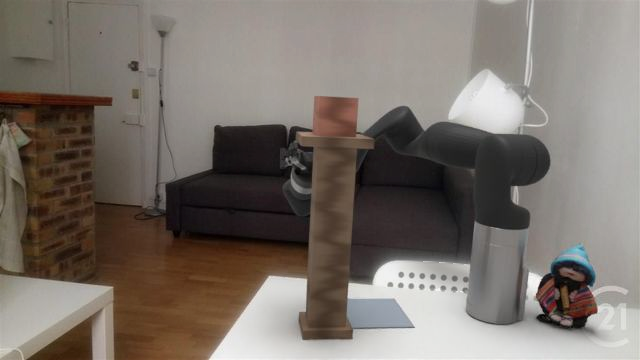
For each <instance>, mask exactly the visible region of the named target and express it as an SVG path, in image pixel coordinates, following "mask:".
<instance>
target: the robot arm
mask: <svg viewBox="0 0 640 360" xmlns="http://www.w3.org/2000/svg"><path fill="white" fill-rule="evenodd" d="M361 135H364V136H367V137H370V138H373V139H375V140H374V143H375V142H376V141H377V140H378V139H380V138H381V137H382V136H383V137H384V138H385V140H386V141H387V143H388V144H389V146H390V147H391V148H392V150H394V152H395V153H397V154H400V155H404V156H411V157H412V156H413V157H419V158H423V159H425V160H429V161H433V162H435V163H438V164H441V165H444V166H447V167H450V168H451V167H452V168H457V169H465V170H468V169H469V170H474V179H473V181H474V182H473V183H474V184H473V197H472V198H473V206H474V212H475V216H474V226H473V233H472V234H473V235H472V246H471V254H470V255H471V256H470V265H469V274H468V283H467V293H466V300H465V301H466V303H465V311H466V312H467V314H469V316H471V317H473V318H475V319H477V320H479V321H483V322H486V323H490V324H496V325H499V324H500V325H508V324H509V325H510V324H514V323H516V322H518V321H523V320H524V316H525V315H524V313H525V309H526V308H525V307H526V297H527V290H528V283H529V282H528V281H529V275H530V271H529V269H528V268H527V267H525V265H526V257H527V250H528V249H527V247H528V240H529V232H530V223H531V212H530V210H528V209H527V208H525V207H523V206H521V205H518V204H516V203H514V201H513V200H512V196H511V195H512V192H511V191H512V190H511V189H512V187H526V186H531V185H533V184H536V183H538V182H540V181H541V180H542V179H544V178H545V176H546V175H547V173H548V172H549V170H550V167H551V154H550V152H549V150H548V148H547V146H546V145H545V144H544V143H543V142H542V141H541V139H539V138H538V137H536V136H533V135H530V134H525V133H524V134H522V133H521V134H520V133H517V134H516V133H494V132H490V131H487V130H483V129H480V128H478V127H472V126H470V125H465V124H463V123H462V124H461V123H456V122H450V121H439V122H435V123H433V124H431V125H430V126H428V127H427V128H426V130H424V128H423V127H422V125H421V123H420V122H419V120H418V118H417V117H416V116H415V113H414V112H413V111H412V109H411V108H410V106H407V105H400V106H397V107H395V108H393V109H391V110H389V111H387V112H386V113H384V115H383V116H382V115H381V117H380V118H379V119H378V120H376V121H375V122H374V123H373V124H372V125H371V126H370V127H369V128H367V129H366V130H365V131H364V132H362V133H361ZM298 144H299V143H298V142H297V141H296V140H293V142H291V143H289V147H288V149H286V147H280V149H279V169H280V170H281V169H282V170H284V169H286V167H288V166H291V167H292V168H291V173H290V178H289V179H288V180H287V181H286V182H285V183H284V184H283V185H282V192H283V196H284V197H285V198H286V200H287V202H288V204H289V205H290V207H291V209H292V211H293V213H294V214H295V215H296V216H299V217H307V216H309V215H310V212H311V191H312V171H313V152H312V151H306V152H305V151H304V150H302V149H300V148H299V146H298ZM369 150H370V149H360V148H357V158H356V173H357V172H358V171H359V169H360V167H361V165H362V163H363V161H364V159H365V157H366V155H367V153H368V151H369Z"/></svg>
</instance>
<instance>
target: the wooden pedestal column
mask: <svg viewBox="0 0 640 360" xmlns="http://www.w3.org/2000/svg"><path fill="white" fill-rule="evenodd" d="M374 140H375V139H373V138H370V137H367V136H364V135H362V133H356V137H335V136H317V135H315V134H313V131H296V132H295V141H297V142H298V144H299V145H300V146H301V147H308V148H309V147H310V148H313V171H312V191H311V212H310V214H309V215H310V216H309V233H308V255H307V256H308V257H307V259H308V260H307V274H306V275H307V277H306V294H305V295H306V297H305V299H306V300H305V311H299V312H298V323H299V324H298V325H299V327H300V332H301V337H302V340H303V341H304V340H305V341H306V340H310V341H311V340H353V337H354V336H353V335H354V329H353V328H352V326H351V324H350V322H349V319H348V317H347V301H348V299H349V297H348V296H349V283H350V267H351V266H350V265H351V251H352V250H351V249H352V235H353V232H352V231H353V221H354V220H353V219H354V203H355V188H356V187H355V185H356V173H357V172H356V158H357V148H360V149H369V150H374V149H375V142H374Z"/></svg>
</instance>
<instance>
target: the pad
mask: <svg viewBox="0 0 640 360" xmlns="http://www.w3.org/2000/svg"><path fill="white" fill-rule="evenodd" d="M347 317H348V319H349V322H350V324H351V326H352V328H353V330H355V329H357V330H359V329H363V330H364V329H406V328H407V329H410V328H411V329H413V328H416V327H415V325H414V324H413V322H412V321H411V320H410V318H409V317H408V315H407V314H406V312H405V311H404V310H403V309H402V307H401V305H400V304H399V302H398V301H397V300H396V298H348V301H347Z"/></svg>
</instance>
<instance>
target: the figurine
mask: <svg viewBox="0 0 640 360" xmlns="http://www.w3.org/2000/svg"><path fill="white" fill-rule="evenodd" d="M549 270H550V272H549V273H546V274H544V276H543V277H542V278H540V281H539V283H538V287H537V291H536V292H535V293H536V294H535V298H536V302H538V306H539V307H540V308H541V311H542V312H543V313H539V314H538V315H537V316H536V320H538V321H539V322H541V323H543V324H549V325H553V326H556V327H560V328H564V329H570V330H571V329H579V328H580V329H582V328H581V327H583V328H585V326H586V324H587V322H588V318H589V317H591V316H592V315H597V314H598V311H599V310H598V305H597V301H596V299H595V297H594V294H593V293H592V291H591V290H590V288H593V287H594V284H595V283H596V279H597V278H596V273H595V269H594V268H593V266H592V264H591V262H590V260H589V256H588V253H587V252H586V250H585V246H584V245H583V243H579V244H577V245H572V247H570V248H568V249H566V250H564V251H562V252H561V253H560V254H558V255H557V256H556V257H555V258H554V260H553V261H552V262H551V265H550V269H549ZM588 286H589V287H590V288H589V287H588Z"/></svg>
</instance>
